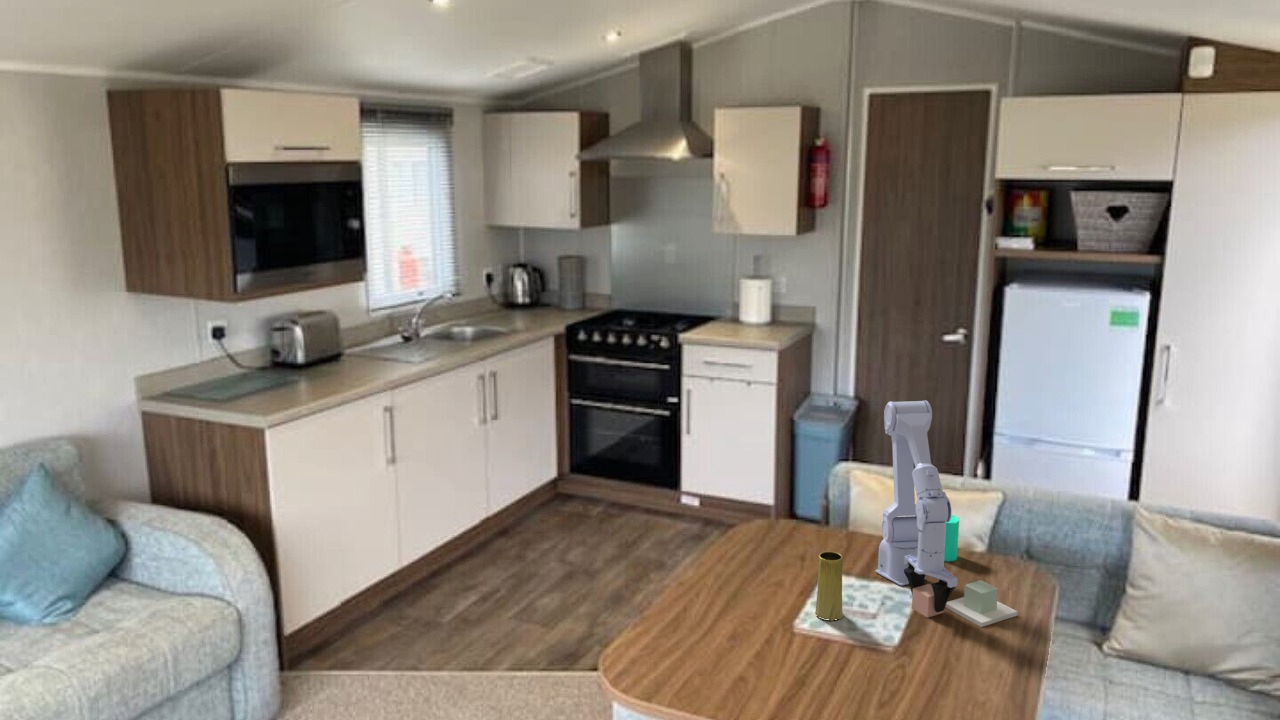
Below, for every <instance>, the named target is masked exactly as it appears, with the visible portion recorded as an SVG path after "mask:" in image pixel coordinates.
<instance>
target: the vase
mask: <svg viewBox="0 0 1280 720" xmlns="http://www.w3.org/2000/svg"><path fill="white" fill-rule="evenodd" d="M817 558H818V559H817V561H818V563H817V593H816V602H815V604H816V606H815V612H814V614H816V615H817V616H818V617H821V618H824V619H829V620H835V619H839V620H841V619H842V618H843V616H844V613H843V560H844V559H843V558H844V557H843V555H842V554H841V553H839V552H836V551H833V550H832V551H829V550H827V551H826V550H825V551H822V552H820V553H819V554H818V557H817ZM816 615H815V616H816ZM817 616H816V617H817ZM818 617H817V618H818ZM841 617H842V618H841ZM840 618H841V619H840Z"/></svg>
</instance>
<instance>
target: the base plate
mask: <svg viewBox="0 0 1280 720" xmlns="http://www.w3.org/2000/svg"><path fill="white" fill-rule="evenodd" d="M945 608H946V609H948V610H950V611H952V612H953V613H954V614H956V615H959V616H960V617H962V618H964V619H966V620H968V621H970V622H971V623H974V624H975V625H977V626H978V627H981V628H983V627H986V626H989V625H992V624H996V623H998V622H1001V621H1004V620H1008V619H1010V618H1011V619H1012V618H1015V617H1016V616H1017V617H1018V611H1017V610H1016V609H1013V608H1011V607H1009V606H1008V605H1006V604H1004V603H1002V602H1000V601H998V600H997V609H996V610H993V611H989V612H986V613H983V614H979V613H977V612H975V611H973V610H971V609H970V608H968V607H966V606H964V596H963V597H959V598H955V599H953V600H949V601H947V603H946V606H945Z"/></svg>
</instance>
